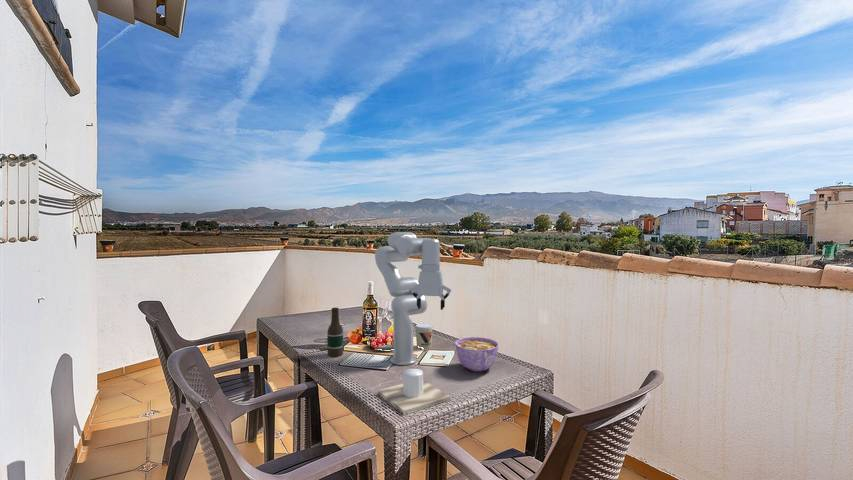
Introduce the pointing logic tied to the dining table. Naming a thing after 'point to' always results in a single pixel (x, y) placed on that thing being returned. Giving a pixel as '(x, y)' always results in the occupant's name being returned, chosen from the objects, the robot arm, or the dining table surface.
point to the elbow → (413, 383)
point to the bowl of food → (477, 352)
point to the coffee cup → (424, 335)
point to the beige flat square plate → (410, 403)
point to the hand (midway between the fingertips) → (430, 308)
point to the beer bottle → (335, 335)
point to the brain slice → (384, 347)
